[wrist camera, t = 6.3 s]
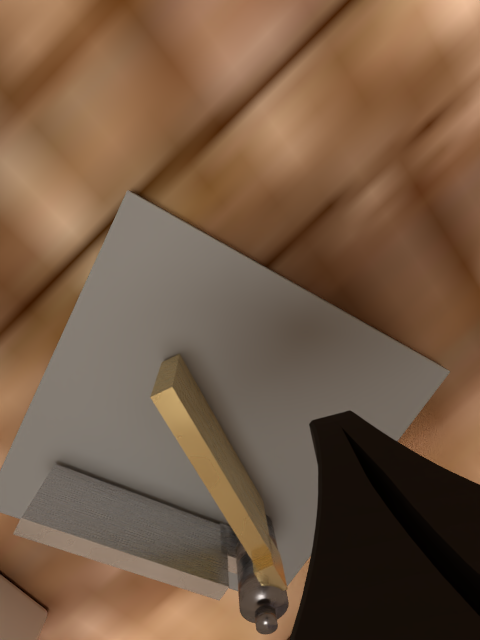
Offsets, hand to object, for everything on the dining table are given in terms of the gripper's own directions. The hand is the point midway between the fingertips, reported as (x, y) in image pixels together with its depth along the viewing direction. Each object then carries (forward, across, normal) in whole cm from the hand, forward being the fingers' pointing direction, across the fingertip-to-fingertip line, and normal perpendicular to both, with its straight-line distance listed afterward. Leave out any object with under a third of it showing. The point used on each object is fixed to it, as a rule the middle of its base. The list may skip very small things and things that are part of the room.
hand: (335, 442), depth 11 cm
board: (+8, +5, +4) cm, 11 cm away
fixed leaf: (+8, +8, +7) cm, 13 cm away
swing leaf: (+7, +5, +5) cm, 11 cm away
